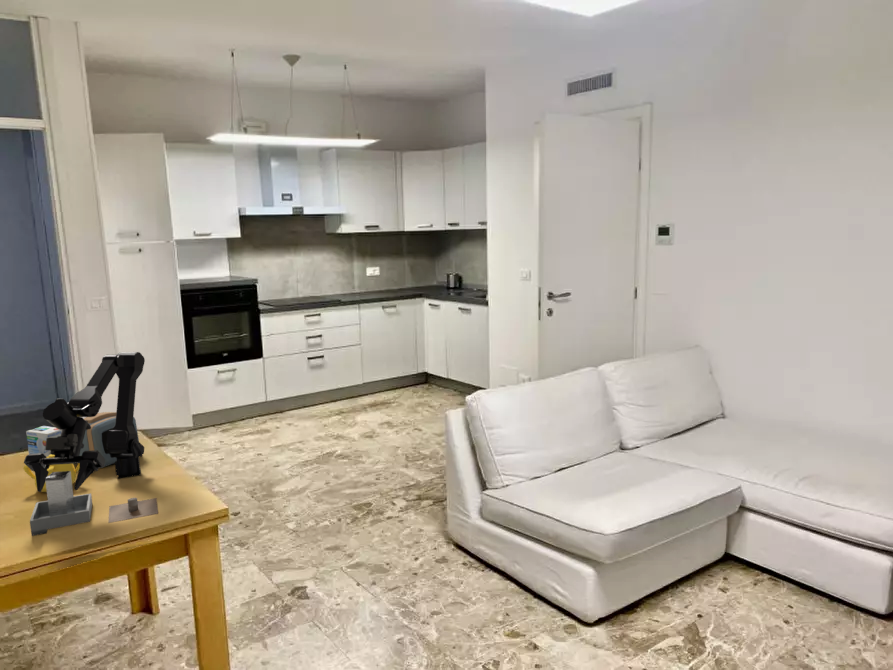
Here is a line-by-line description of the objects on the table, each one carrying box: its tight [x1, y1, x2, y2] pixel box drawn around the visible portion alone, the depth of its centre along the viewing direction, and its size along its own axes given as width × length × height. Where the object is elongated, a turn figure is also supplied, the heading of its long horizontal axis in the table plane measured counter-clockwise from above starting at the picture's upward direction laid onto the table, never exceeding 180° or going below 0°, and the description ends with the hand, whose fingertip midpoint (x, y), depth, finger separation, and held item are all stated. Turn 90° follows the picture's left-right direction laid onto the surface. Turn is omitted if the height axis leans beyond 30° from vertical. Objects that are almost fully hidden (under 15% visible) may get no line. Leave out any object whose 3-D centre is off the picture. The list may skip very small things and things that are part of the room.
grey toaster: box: [79, 411, 140, 468], centre depth 223 cm, size 16×16×16 cm
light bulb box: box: [25, 425, 62, 457], centre depth 224 cm, size 11×7×11 cm, turn 68°
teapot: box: [22, 454, 80, 493], centre depth 199 cm, size 14×13×10 cm
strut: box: [45, 471, 75, 517], centre depth 174 cm, size 4×4×12 cm
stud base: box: [108, 497, 159, 524], centre depth 179 cm, size 12×12×4 cm
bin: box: [29, 492, 93, 537], centre depth 175 cm, size 13×13×4 cm
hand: (57, 490), depth 172 cm, fingers open, 9 cm apart
